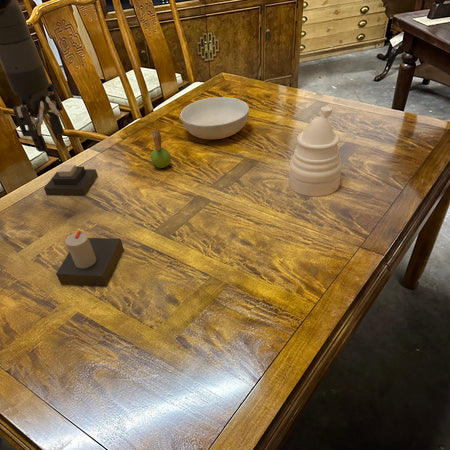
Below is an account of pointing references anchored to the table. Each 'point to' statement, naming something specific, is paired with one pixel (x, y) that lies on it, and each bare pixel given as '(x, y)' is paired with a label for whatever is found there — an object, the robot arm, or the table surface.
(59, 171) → the key
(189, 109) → the serving bowl
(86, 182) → the key block
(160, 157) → the green ball with handle
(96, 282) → the panel
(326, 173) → the honey pot
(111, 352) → the table surface
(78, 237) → the volume knob
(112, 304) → the table surface
